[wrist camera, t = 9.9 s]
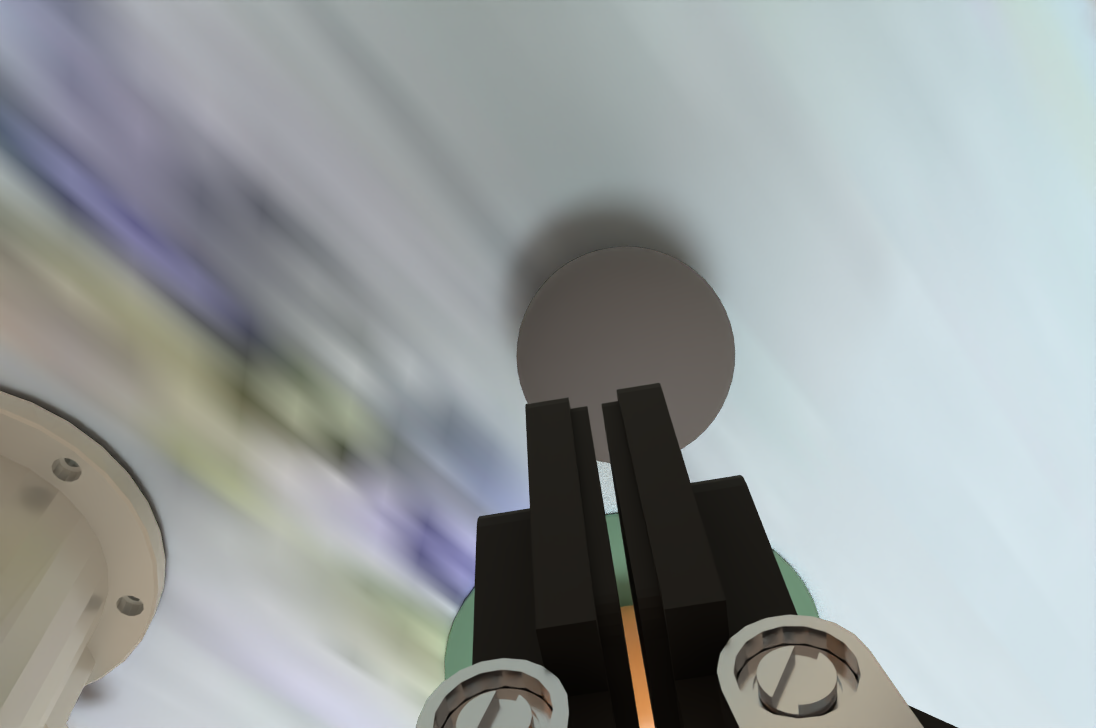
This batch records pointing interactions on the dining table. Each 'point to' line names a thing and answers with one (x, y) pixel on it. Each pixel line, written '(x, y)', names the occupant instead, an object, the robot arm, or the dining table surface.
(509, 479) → the dining table surface
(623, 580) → the green mark
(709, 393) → the charcoal ball
